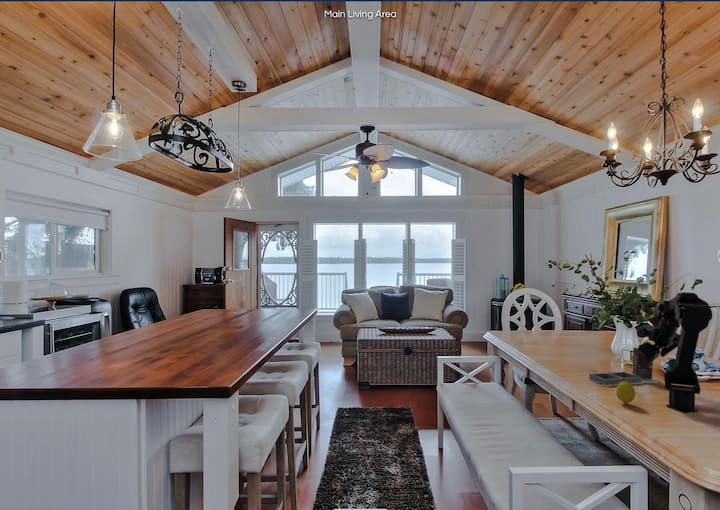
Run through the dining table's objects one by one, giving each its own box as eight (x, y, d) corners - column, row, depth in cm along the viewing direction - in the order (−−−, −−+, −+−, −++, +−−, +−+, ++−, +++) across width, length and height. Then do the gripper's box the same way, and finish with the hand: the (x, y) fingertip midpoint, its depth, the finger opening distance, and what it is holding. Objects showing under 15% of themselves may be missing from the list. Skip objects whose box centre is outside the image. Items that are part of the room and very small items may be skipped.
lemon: (625, 407, 145) (626, 383, 145) (612, 401, 150) (612, 379, 150) (638, 406, 147) (639, 382, 147) (624, 400, 152) (625, 378, 152)
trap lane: (661, 382, 174) (661, 376, 174) (606, 386, 168) (606, 380, 168) (640, 375, 184) (640, 370, 184) (587, 379, 178) (587, 373, 178)
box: (637, 378, 176) (638, 349, 176) (631, 375, 181) (632, 347, 181) (653, 379, 176) (653, 350, 176) (646, 376, 180) (647, 347, 180)
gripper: (661, 310, 171) (649, 340, 179) (630, 325, 164) (619, 355, 172) (690, 326, 163) (677, 356, 170) (659, 342, 156) (646, 373, 163)
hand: (654, 360), depth 169 cm, fingers open, 9 cm apart
